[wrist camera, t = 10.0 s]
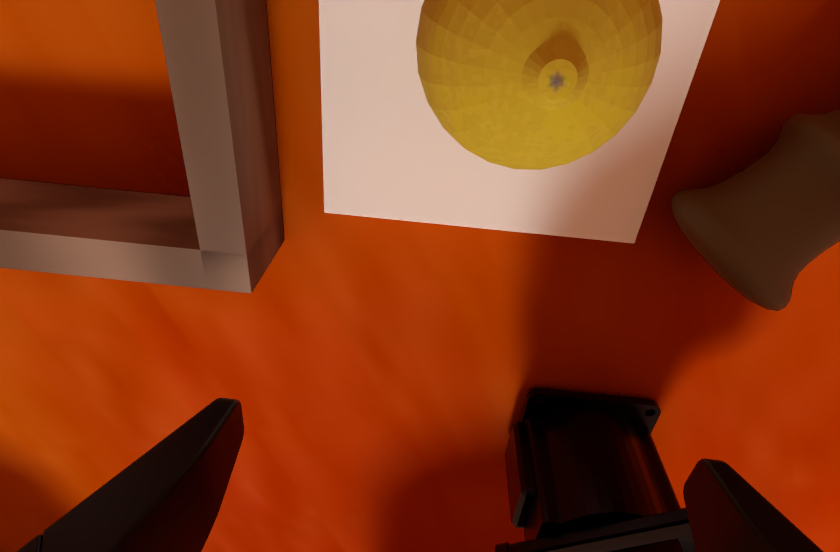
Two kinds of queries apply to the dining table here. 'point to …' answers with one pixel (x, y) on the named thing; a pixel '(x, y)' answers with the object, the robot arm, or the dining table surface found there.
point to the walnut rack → (205, 167)
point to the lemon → (536, 73)
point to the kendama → (770, 211)
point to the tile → (459, 168)
